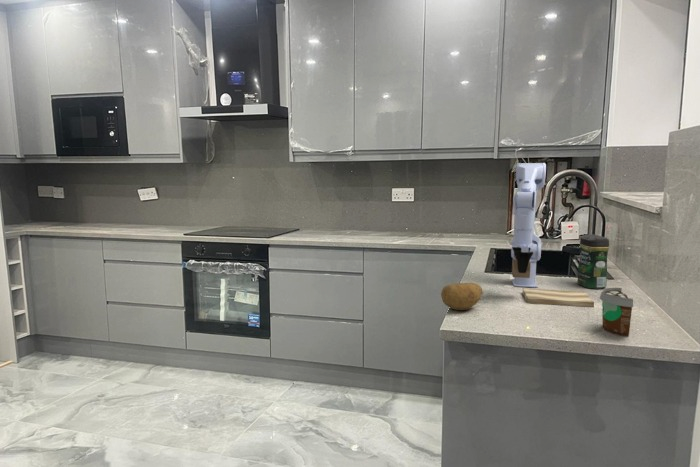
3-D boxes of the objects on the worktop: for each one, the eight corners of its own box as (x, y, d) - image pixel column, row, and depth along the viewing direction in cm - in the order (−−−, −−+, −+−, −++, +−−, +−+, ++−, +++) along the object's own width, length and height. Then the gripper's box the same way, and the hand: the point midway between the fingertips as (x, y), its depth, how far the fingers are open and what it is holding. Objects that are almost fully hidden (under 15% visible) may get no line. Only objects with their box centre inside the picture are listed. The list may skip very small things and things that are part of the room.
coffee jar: (573, 283, 175) (576, 233, 173) (593, 282, 176) (597, 233, 174) (588, 290, 166) (592, 237, 163) (610, 289, 167) (614, 236, 164)
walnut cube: (511, 273, 158) (512, 258, 158) (527, 274, 157) (528, 259, 156) (513, 277, 154) (513, 261, 153) (529, 278, 152) (530, 262, 152)
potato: (491, 309, 143) (492, 283, 142) (455, 316, 136) (456, 289, 135) (468, 301, 151) (469, 277, 150) (433, 308, 144) (433, 282, 143)
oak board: (522, 292, 162) (522, 288, 162) (583, 296, 158) (583, 291, 158) (527, 303, 150) (527, 298, 149) (593, 307, 145) (594, 302, 145)
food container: (593, 321, 132) (595, 285, 131) (618, 323, 130) (621, 287, 129) (602, 335, 120) (605, 297, 119) (630, 338, 119) (633, 299, 117)
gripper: (508, 226, 161) (506, 265, 163) (512, 231, 147) (510, 274, 149) (530, 226, 160) (528, 266, 161) (536, 232, 146) (534, 276, 147)
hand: (521, 270), depth 155 cm, fingers closed on walnut cube, 5 cm apart
